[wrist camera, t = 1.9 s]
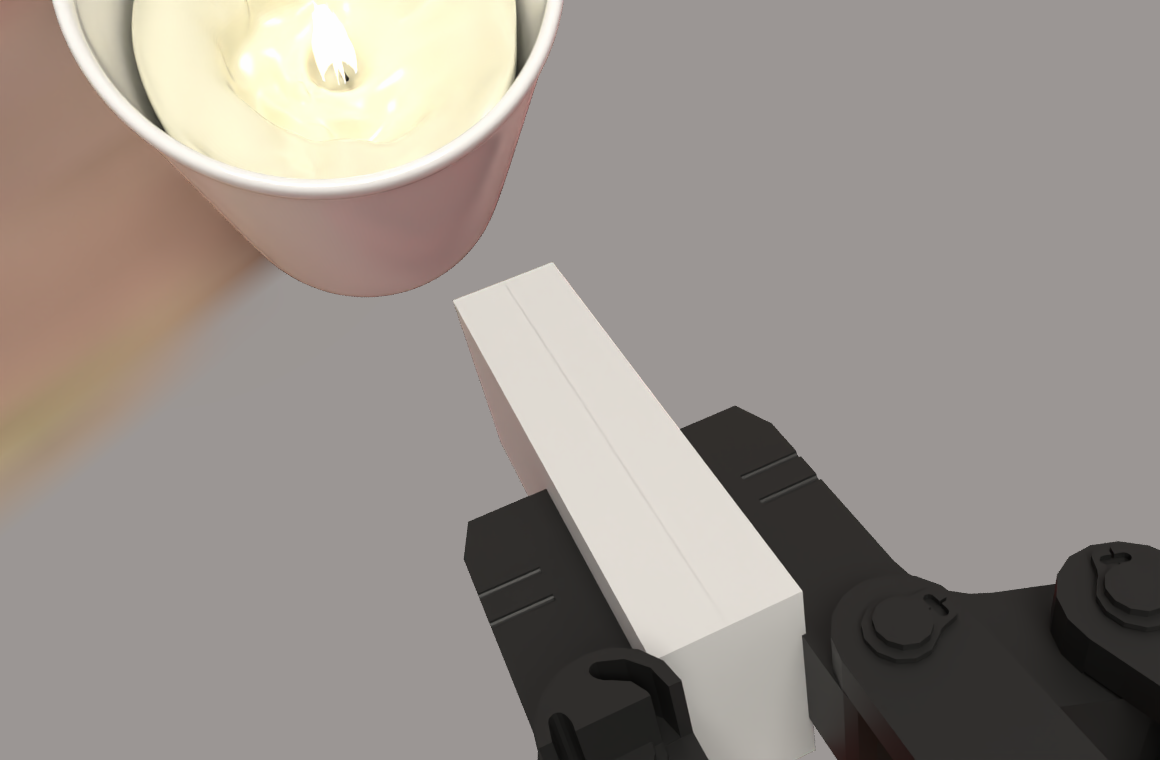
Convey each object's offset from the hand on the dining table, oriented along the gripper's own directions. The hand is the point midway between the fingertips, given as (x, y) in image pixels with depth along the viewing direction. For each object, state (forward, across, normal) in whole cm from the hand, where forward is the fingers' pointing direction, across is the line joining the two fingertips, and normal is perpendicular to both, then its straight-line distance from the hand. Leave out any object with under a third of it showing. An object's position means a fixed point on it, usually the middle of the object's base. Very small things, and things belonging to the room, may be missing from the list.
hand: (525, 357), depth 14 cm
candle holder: (+18, 0, -5) cm, 19 cm away
